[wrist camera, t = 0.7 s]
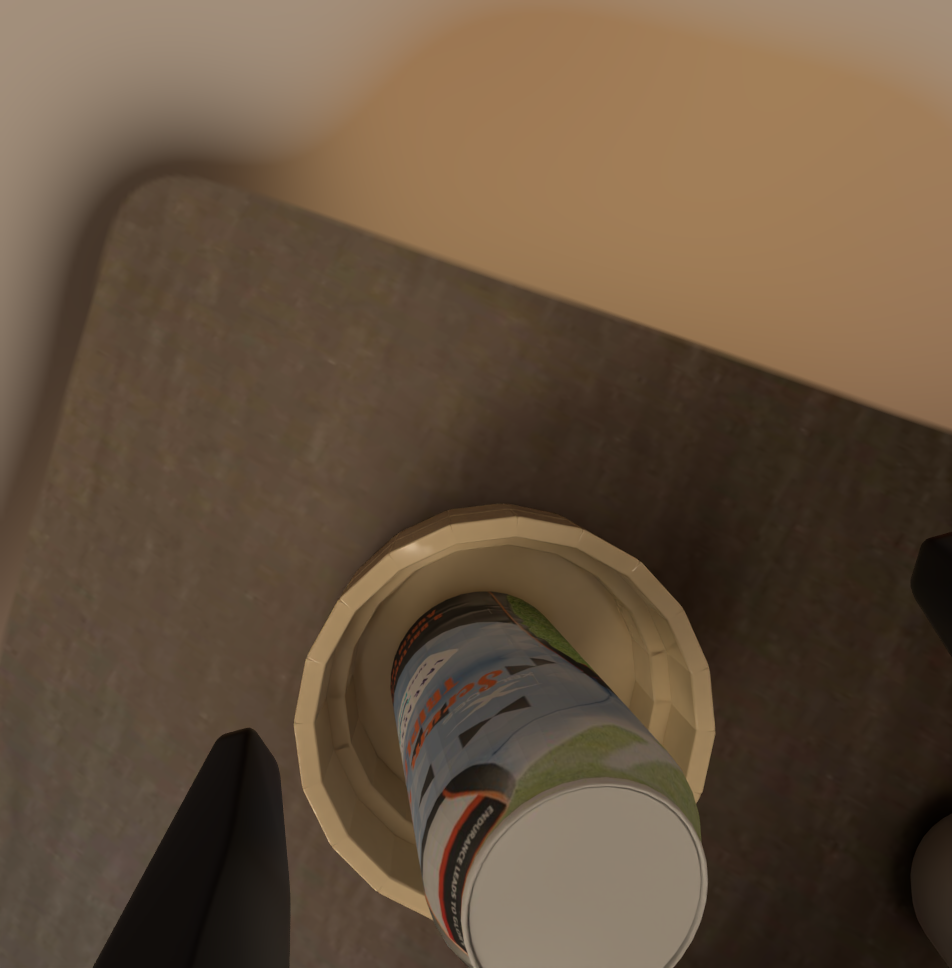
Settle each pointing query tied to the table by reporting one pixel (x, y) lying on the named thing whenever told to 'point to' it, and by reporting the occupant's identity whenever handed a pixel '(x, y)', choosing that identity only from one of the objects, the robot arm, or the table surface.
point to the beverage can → (540, 798)
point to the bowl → (459, 570)
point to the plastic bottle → (935, 886)
